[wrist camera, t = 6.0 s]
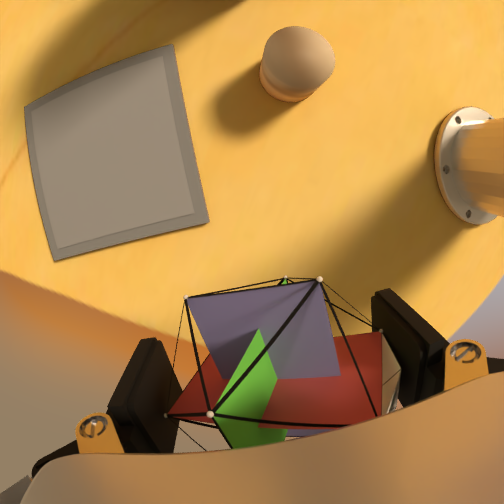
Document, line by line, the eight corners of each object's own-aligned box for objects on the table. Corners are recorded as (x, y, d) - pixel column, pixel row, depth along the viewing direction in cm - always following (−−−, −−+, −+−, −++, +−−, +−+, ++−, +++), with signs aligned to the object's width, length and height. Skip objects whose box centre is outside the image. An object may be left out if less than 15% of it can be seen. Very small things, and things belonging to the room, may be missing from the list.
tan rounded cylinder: (310, 47, 22) (325, 24, 17) (323, 98, 23) (342, 84, 18) (253, 53, 22) (257, 30, 17) (266, 106, 23) (272, 91, 18)
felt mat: (173, 46, 21) (172, 43, 20) (209, 221, 25) (209, 222, 25) (27, 107, 21) (23, 106, 21) (57, 259, 25) (53, 261, 25)
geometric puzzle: (180, 441, 11) (305, 558, 5) (101, 316, 10) (210, 456, 3) (292, 359, 15) (433, 408, 9) (253, 236, 13) (435, 239, 7)
